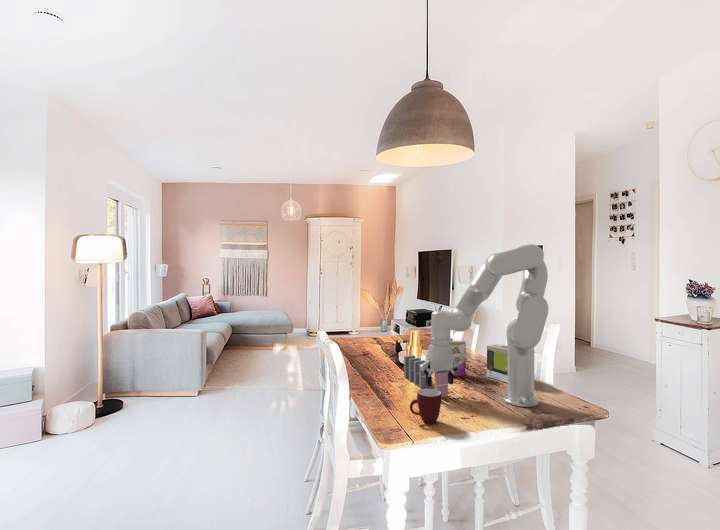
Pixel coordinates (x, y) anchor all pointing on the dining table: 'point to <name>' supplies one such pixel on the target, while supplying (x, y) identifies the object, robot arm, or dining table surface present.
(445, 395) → the plum domino
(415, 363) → the domino
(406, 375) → the domino
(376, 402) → the dining table surface
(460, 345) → the candy bar box
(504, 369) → the grey toy television
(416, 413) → the mug
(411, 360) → the domino
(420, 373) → the domino
